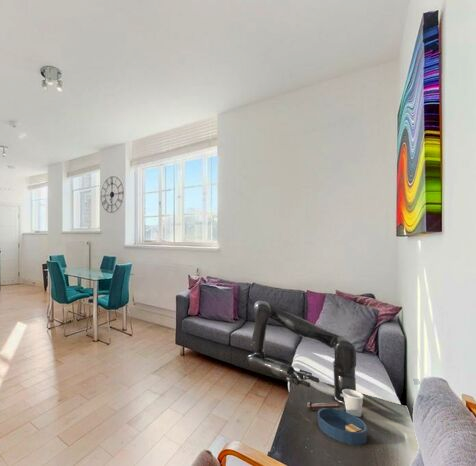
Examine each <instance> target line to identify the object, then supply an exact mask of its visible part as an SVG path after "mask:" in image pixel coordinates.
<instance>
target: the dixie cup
mask: <svg viewBox="0 0 476 466" xmlns="http://www.w3.org/2000/svg"><path fill="white" fill-rule="evenodd" d="M342 392H343V396H344V401H345V405H344V406H345V411H346V412H348V413H350V414H353V415H355V416H356V417H358V418H361V417H362V413H363V404H364V403H363V402H364V398H365V396H364V395H363V393H361V392H359V391H357V390H356V391H355V390H351V389H344V390H342Z"/></svg>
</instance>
